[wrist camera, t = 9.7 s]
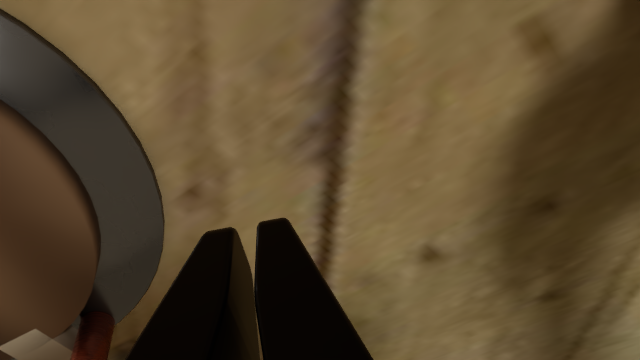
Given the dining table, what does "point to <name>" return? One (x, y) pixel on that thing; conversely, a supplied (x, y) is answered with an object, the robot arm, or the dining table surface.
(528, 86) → the dining table surface
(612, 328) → the dining table surface
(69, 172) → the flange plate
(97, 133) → the bowl
